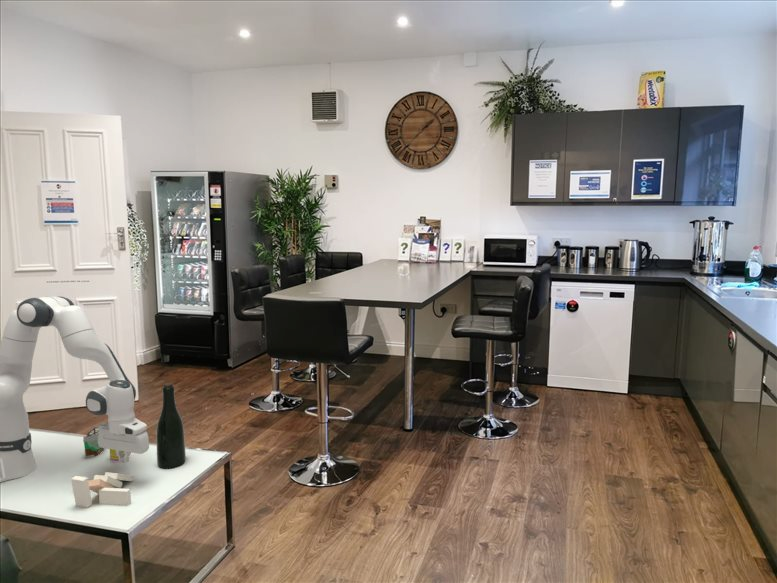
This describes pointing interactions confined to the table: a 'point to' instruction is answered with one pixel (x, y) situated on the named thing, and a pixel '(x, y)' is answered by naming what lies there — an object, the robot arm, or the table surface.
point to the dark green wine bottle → (170, 432)
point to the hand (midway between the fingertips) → (124, 461)
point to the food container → (92, 443)
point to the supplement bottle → (114, 455)
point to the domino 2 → (98, 485)
